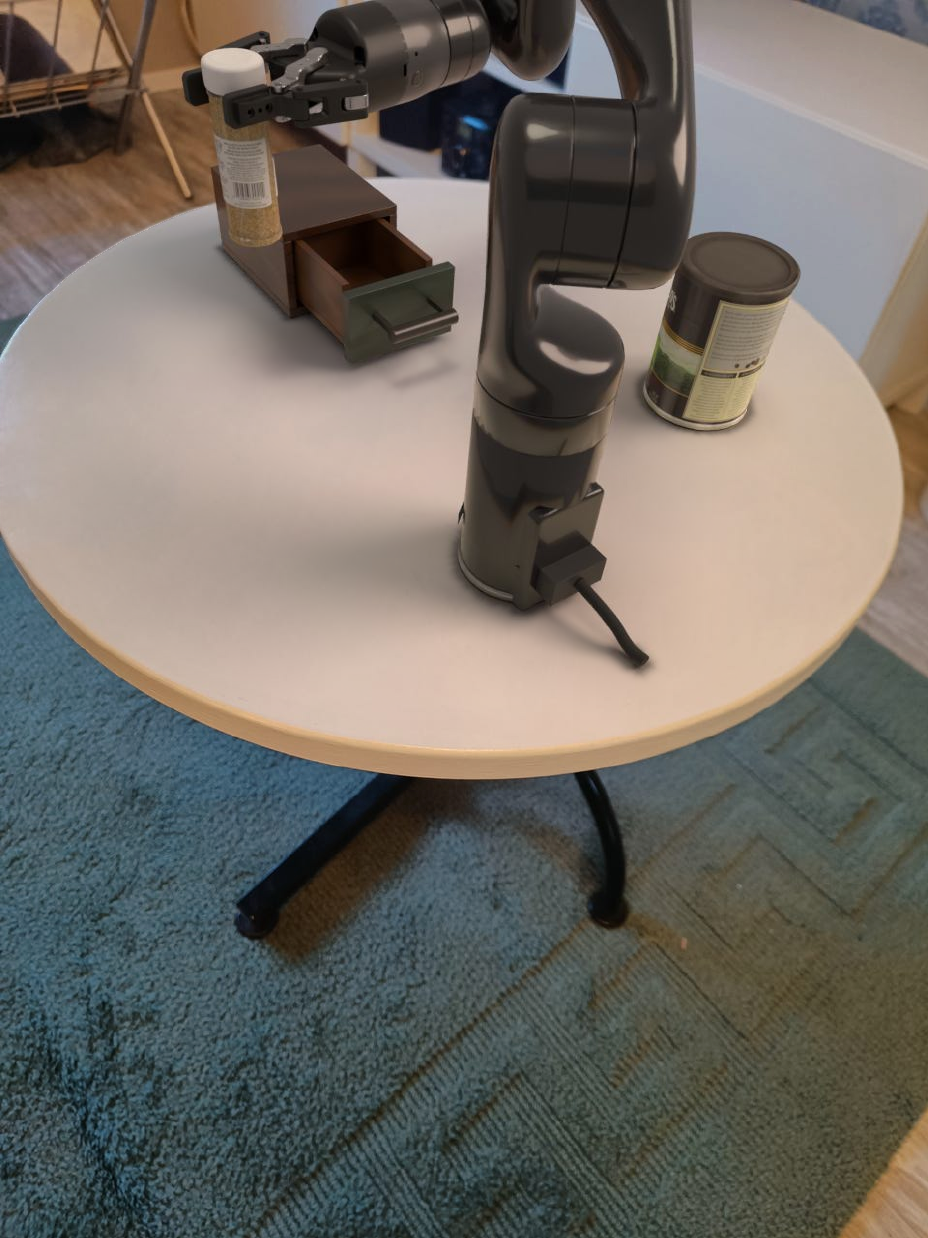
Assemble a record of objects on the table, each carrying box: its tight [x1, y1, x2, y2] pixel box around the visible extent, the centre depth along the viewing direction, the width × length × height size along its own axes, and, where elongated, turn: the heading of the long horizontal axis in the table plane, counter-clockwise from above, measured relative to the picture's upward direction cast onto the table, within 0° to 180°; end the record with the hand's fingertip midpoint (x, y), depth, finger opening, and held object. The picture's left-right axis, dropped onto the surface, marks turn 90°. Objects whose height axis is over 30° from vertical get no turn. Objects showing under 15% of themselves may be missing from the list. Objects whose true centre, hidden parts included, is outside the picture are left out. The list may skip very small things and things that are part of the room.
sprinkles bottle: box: [200, 48, 282, 247], centre depth 68 cm, size 5×5×13 cm
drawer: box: [291, 218, 460, 365], centre depth 85 cm, size 19×12×7 cm, turn 35°
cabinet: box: [210, 143, 398, 319], centre depth 91 cm, size 16×13×9 cm
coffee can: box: [642, 231, 802, 431], centre depth 79 cm, size 10×10×14 cm
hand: (206, 101), depth 64 cm, fingers closed on sprinkles bottle, 4 cm apart
